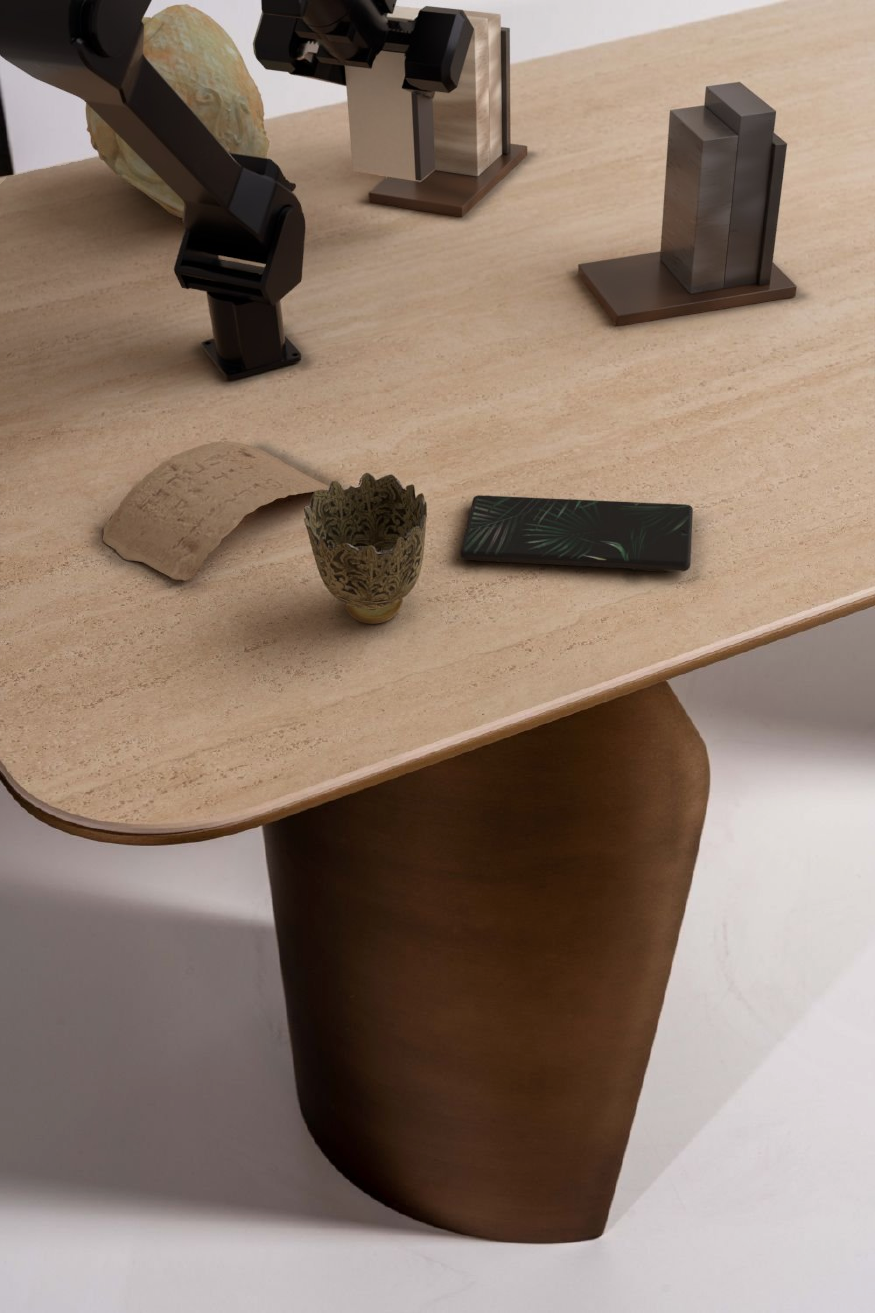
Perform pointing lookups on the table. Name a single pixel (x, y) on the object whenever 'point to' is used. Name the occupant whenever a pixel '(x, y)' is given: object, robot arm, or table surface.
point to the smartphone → (579, 533)
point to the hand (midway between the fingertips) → (396, 88)
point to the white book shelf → (445, 188)
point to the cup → (368, 543)
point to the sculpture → (190, 96)
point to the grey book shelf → (707, 217)
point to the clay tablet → (198, 504)
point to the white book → (389, 117)
